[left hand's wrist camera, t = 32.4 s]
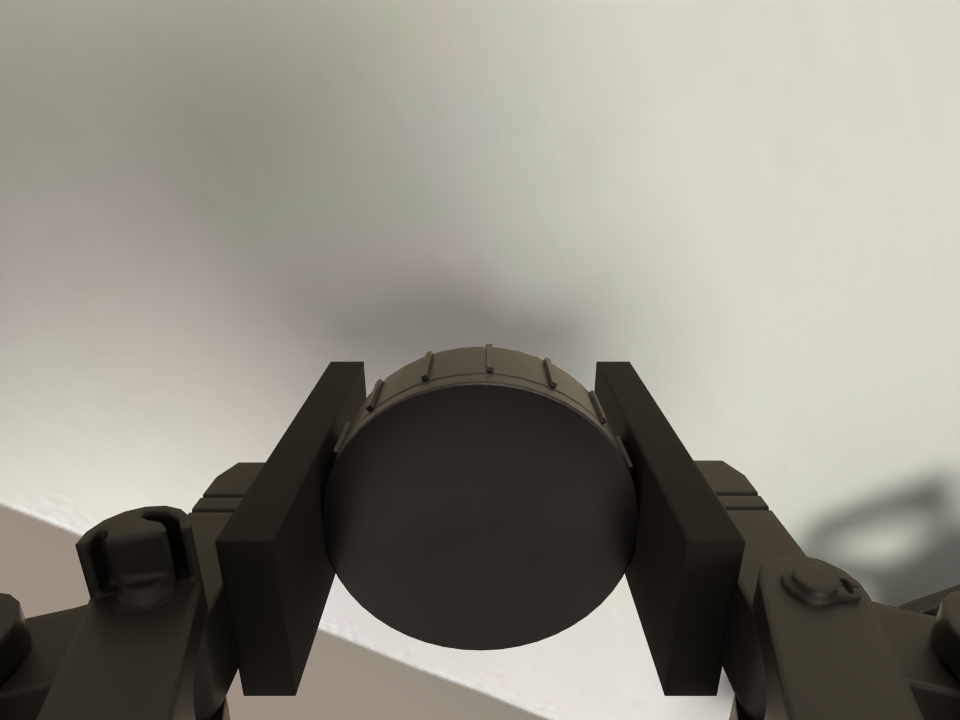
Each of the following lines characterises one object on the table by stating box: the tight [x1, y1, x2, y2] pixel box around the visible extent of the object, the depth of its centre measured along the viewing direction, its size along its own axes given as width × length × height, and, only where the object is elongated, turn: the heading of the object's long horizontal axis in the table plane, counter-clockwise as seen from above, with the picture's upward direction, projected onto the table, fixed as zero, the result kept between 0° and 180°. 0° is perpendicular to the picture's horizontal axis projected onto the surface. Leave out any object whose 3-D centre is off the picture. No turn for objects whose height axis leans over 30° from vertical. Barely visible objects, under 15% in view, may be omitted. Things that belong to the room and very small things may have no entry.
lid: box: [321, 344, 639, 650], centre depth 11 cm, size 6×6×2 cm
